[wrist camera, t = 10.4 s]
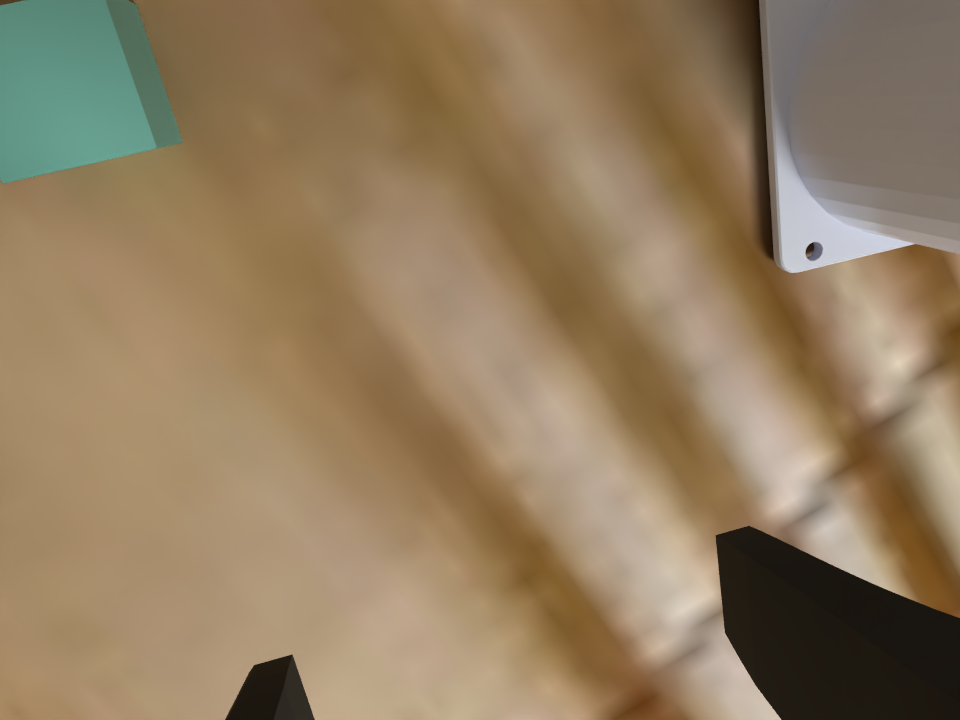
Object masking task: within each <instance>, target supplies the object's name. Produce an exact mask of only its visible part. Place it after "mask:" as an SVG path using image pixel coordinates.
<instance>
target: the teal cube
mask: <svg viewBox="0 0 960 720" xmlns="http://www.w3.org/2000/svg"><path fill="white" fill-rule="evenodd" d="M182 142H183V141H182V138H181V135H180V132H179V130H178V127H177V124H176V121H175V118H174V115H173V112H172V109H171V106H170V103H169V100H168V97H167V94H166V91H165V88H164V85H163V82H162V79H161V76H160V73H159V70H158V67H157V64H156V61H155V58H154V55H153V52H152V49H151V46H150V43H149V41H148V38H147V35H146V32H145V29H144V26H143V23H142V20H141V17H140V14H139V11H138V8H137V5H136V4H134V3H132V2H130V1H129V0H24V1H19V2H14V3H9V4H4V5H0V180H1V182H2V184H4V183H8V182H13V181H17V180H21V179H26V178H30V177H35V176H39V175H43V174H48V173H52V172H56V171H61V170H65V169H70V168H74V167H78V166H83V165H87V164H91V163H96V162H100V161H105V160H109V159H113V158H118V157H122V156H127V155H131V154H135V153H140V152H144V151H148V150H153V149H157V148H161V147H166V146H170V145H174V144H178V143H182Z"/></svg>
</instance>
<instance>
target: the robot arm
mask: <svg viewBox="0 0 960 720" xmlns="http://www.w3.org/2000/svg"><path fill="white" fill-rule="evenodd" d="M759 9H760V26H761V43H762V61H763V78H764V95H765V113H766V130H767V148H768V165H769V182H770V200H771V217H772V234H773V252H774V260H775V263H776V265H777V266H778V267H779V268H780V269H782V270H785V271H787V272H790V273H797V272H801V271H806V270H810V269H814V268H818V267H822V266H826V265H830V264H834V263H838V262H842V261H847V260H851V259H855V258H859V257H863V256H867V255H871V254H875V253H879V252H884V251H888V250H892V249H896V248H900V247H904V246H908V245H912V244H919V245H923V246H928V247H932V248H936V249H940V250H945V251H949V252H953V253H957V254H960V0H759ZM811 243H814V252H813V253H812V254H811V256H809V257H807V258H806V255H805V252H806V248H807V247H808V245H809V244H811ZM716 544H717V555H718V565H719V575H720V586H721V596H722V606H723V617H724V627H725V634H726V635H727V637H728V639H729V641H730V642H731V644H732V646H733V648H734V649H735V651H736V653H737V655H738V656H739V658H740V660H741V662H742V663H743V665H744V667H745V668H746V670H747V672H748V673H749V675H750V677H751V678H752V680H753V681H754V683H755V685H756V686H757V688H758V689H759V690H760V692H761V693H762V694H763V696H764V697H765V698H766V700H767V701H768V702H769V704H770V705H771V706H772V708H773V709H774V710H775V712H776V713H777V714H778V716H779V717H780V718H781V720H960V618H958V617H955V616H952V615H949V614H946V613H944V612H941V611H938V610H935V609H933V608H930V607H928V606H925V605H923V604H920V603H918V602H915V601H913V600H910V599H908V598H905V597H903V596H900V595H898V594H895V593H893V592H890V591H888V590H886V589H884V588H881V587H879V586H877V585H874V584H872V583H870V582H867V581H865V580H863V579H861V578H859V577H856V576H854V575H852V574H850V573H848V572H845V571H843V570H841V569H839V568H837V567H835V566H833V565H830V564H828V563H826V562H824V561H822V560H820V559H818V558H816V557H814V556H812V555H810V554H808V553H806V552H803V551H801V550H799V549H797V548H795V547H793V546H791V545H789V544H787V543H785V542H783V541H781V540H779V539H777V538H775V537H773V536H770V535H768V534H766V533H764V532H762V531H760V530H757V529H755V528H753V527H751V526H747V527H744V528H740V529H736V530H733V531H729V532H726V533H722V534H719V535H716ZM225 720H315V719H314V717H313V714H312V711H311V708H310V705H309V702H308V699H307V696H306V693H305V690H304V687H303V684H302V681H301V678H300V675H299V673H298V670H297V667H296V664H295V661H294V658H293V655H289V656H285V657H282V658H278V659H275V660H271V661H268V662H264V663H260V664H257V665H254V666H253V668H252V669H251V671H250V672H249V674H248V676H247V678H246V680H245V682H244V684H243V686H242V688H241V690H240V692H239V694H238V696H237V698H236V700H235V702H234V704H233V705H232V707H231V709H230V711H229V713H228V715H227V717H226V719H225Z"/></svg>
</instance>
